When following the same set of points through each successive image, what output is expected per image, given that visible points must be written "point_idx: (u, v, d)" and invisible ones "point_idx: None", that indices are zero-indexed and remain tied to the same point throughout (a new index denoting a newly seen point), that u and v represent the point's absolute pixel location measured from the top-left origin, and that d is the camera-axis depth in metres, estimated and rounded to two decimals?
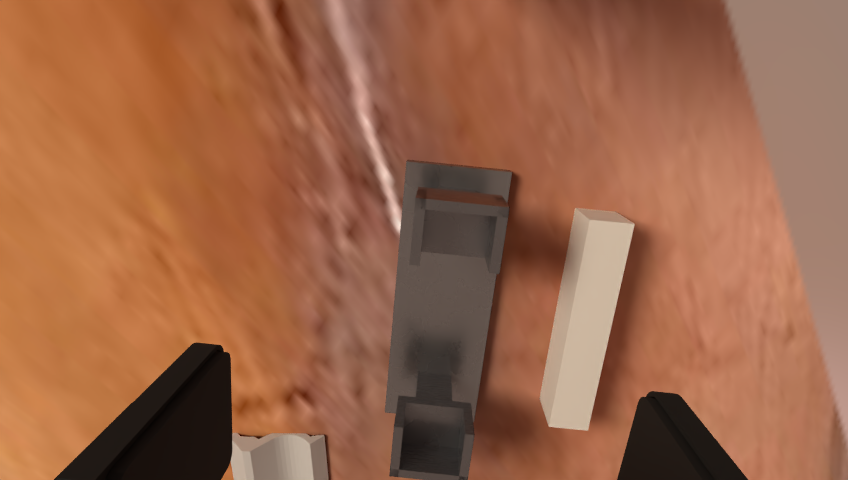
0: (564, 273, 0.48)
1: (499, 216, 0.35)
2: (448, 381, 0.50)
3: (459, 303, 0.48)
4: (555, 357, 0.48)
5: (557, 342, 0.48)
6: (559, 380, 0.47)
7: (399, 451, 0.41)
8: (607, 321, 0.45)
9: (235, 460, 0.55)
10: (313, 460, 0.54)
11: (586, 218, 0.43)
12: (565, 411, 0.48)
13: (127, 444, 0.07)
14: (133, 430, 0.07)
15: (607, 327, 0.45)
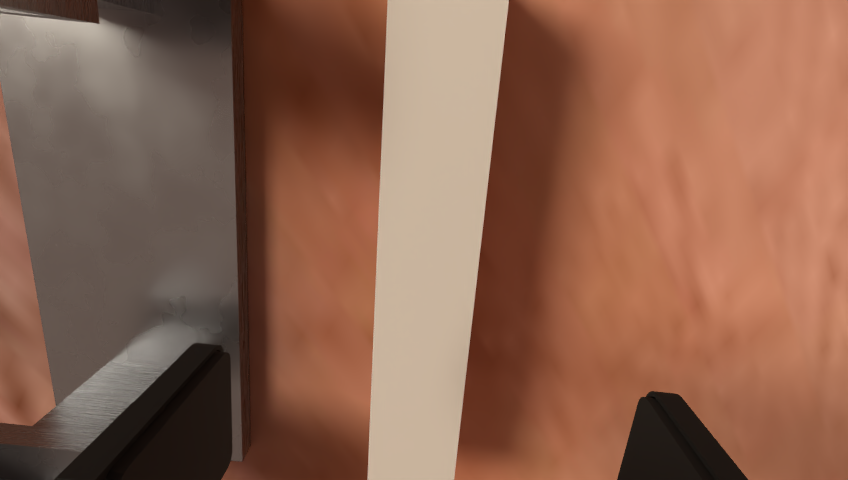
0: None
1: None
2: None
3: (164, 210, 0.22)
4: None
5: None
6: (374, 382, 0.20)
7: None
8: (469, 238, 0.18)
9: None
10: None
11: None
12: (397, 450, 0.21)
13: (127, 444, 0.07)
14: (133, 430, 0.07)
15: (470, 251, 0.18)
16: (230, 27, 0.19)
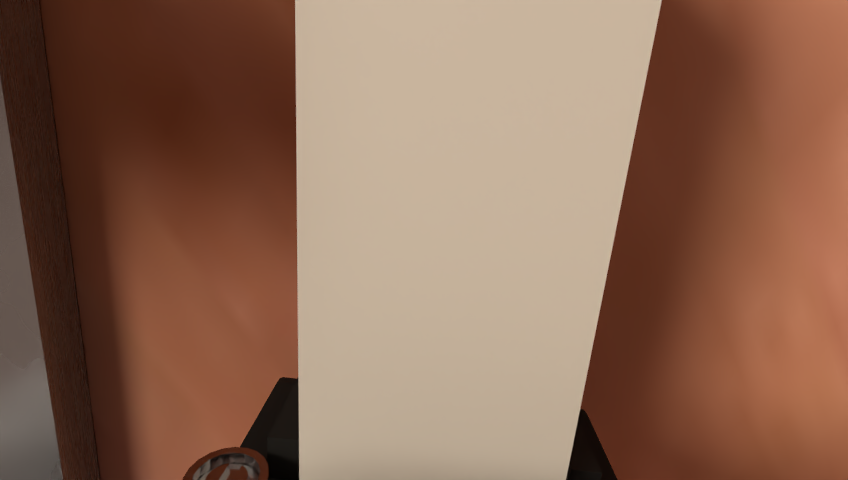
0: None
1: None
2: None
3: None
4: None
5: None
6: None
7: None
8: None
9: None
10: None
11: None
12: None
13: None
14: None
15: None
16: None
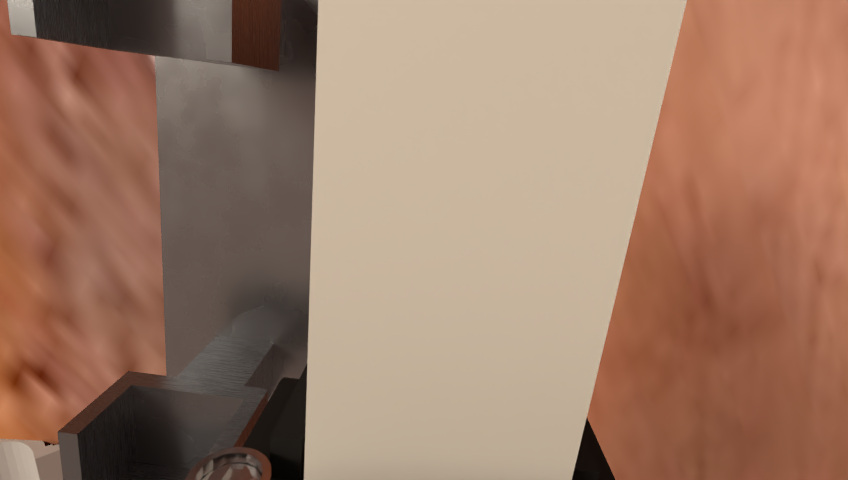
0: None
1: None
2: (261, 353, 0.28)
3: (276, 211, 0.27)
4: None
5: None
6: None
7: None
8: None
9: None
10: None
11: None
12: None
13: None
14: None
15: None
16: None
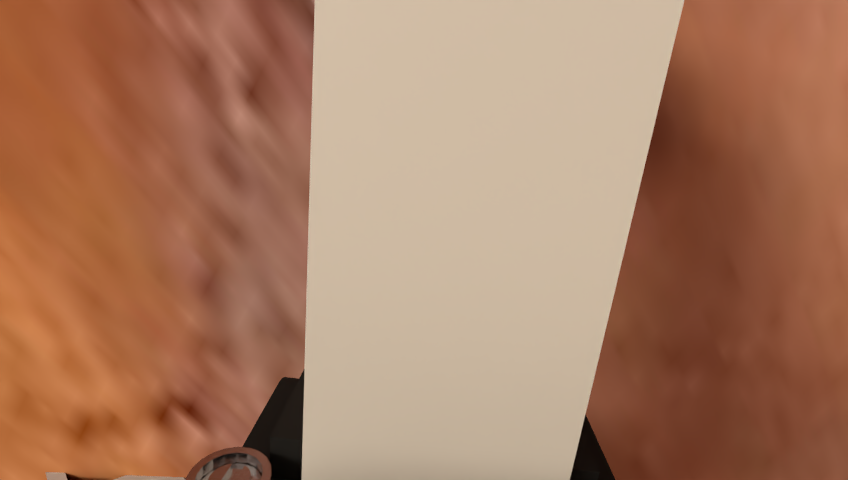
0: None
1: None
2: None
3: None
4: None
5: None
6: None
7: None
8: None
9: None
10: None
11: None
12: None
13: None
14: None
15: None
16: None
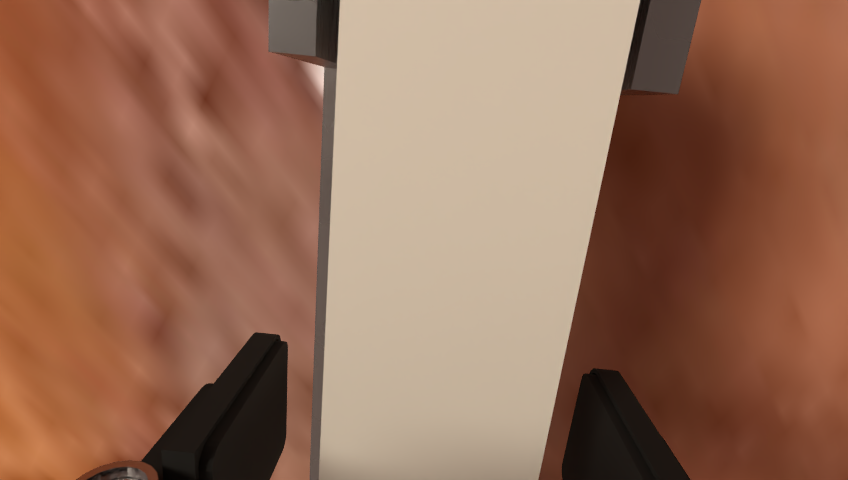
0: None
1: None
2: None
3: None
4: None
5: None
6: None
7: None
8: (520, 439, 0.08)
9: None
10: None
11: None
12: None
13: (216, 422, 0.08)
14: (218, 409, 0.08)
15: (521, 465, 0.08)
16: None
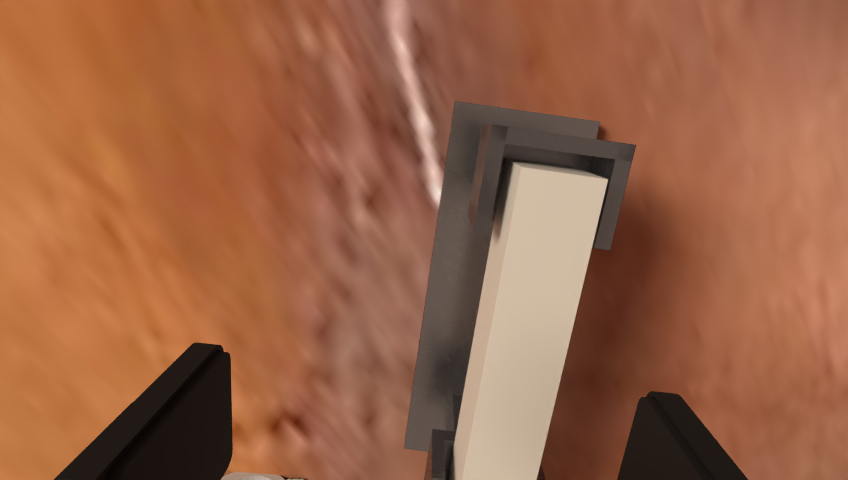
0: (486, 275, 0.27)
1: (618, 159, 0.23)
2: None
3: None
4: (465, 424, 0.27)
5: (469, 397, 0.27)
6: (466, 469, 0.26)
7: None
8: (554, 367, 0.24)
9: None
10: None
11: (517, 167, 0.22)
12: None
13: (127, 444, 0.07)
14: (133, 430, 0.07)
15: (553, 376, 0.24)
16: None
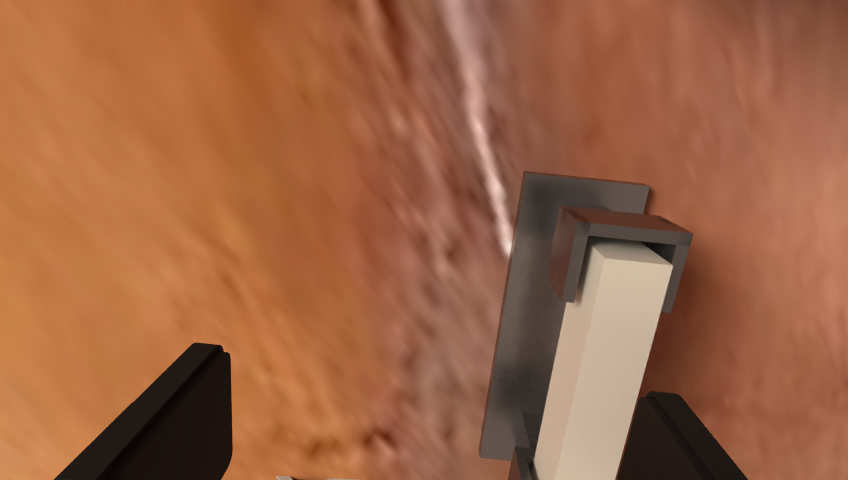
0: (565, 328, 0.33)
1: (678, 244, 0.29)
2: None
3: None
4: (550, 447, 0.34)
5: (553, 426, 0.34)
6: None
7: None
8: (627, 406, 0.30)
9: None
10: None
11: (599, 255, 0.28)
12: None
13: (127, 445, 0.07)
14: (133, 430, 0.07)
15: (627, 413, 0.30)
16: None
